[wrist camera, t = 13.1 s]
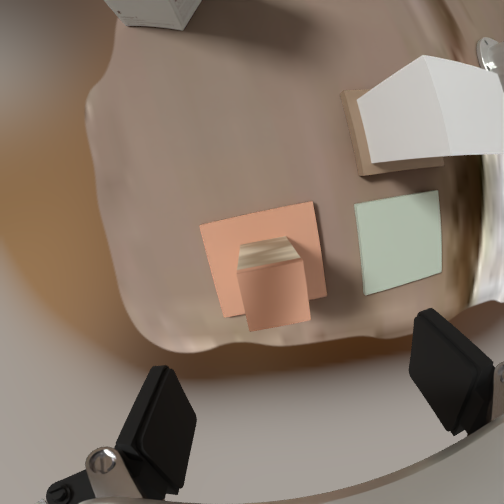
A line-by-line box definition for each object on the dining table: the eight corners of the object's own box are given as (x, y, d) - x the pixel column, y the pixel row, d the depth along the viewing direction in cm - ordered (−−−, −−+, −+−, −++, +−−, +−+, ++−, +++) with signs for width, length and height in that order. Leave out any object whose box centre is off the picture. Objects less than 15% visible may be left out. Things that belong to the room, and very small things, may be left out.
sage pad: (434, 190, 23) (437, 190, 23) (438, 270, 26) (441, 271, 25) (353, 204, 24) (356, 204, 23) (363, 293, 26) (365, 295, 25)
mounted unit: (421, 94, 21) (499, 64, 9) (437, 166, 23) (524, 167, 11) (339, 94, 21) (403, 38, 9) (358, 175, 23) (441, 175, 11)
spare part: (285, 235, 24) (303, 261, 16) (292, 278, 25) (310, 319, 17) (240, 244, 24) (236, 274, 16) (249, 287, 25) (249, 331, 17)
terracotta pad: (311, 200, 24) (312, 201, 23) (325, 293, 26) (327, 295, 25) (200, 224, 24) (199, 225, 24) (224, 314, 26) (224, 317, 26)
